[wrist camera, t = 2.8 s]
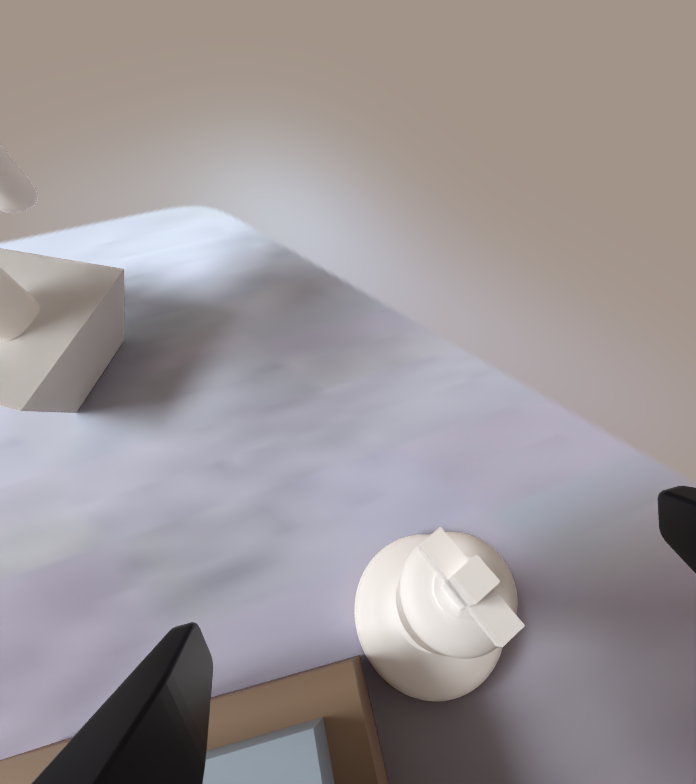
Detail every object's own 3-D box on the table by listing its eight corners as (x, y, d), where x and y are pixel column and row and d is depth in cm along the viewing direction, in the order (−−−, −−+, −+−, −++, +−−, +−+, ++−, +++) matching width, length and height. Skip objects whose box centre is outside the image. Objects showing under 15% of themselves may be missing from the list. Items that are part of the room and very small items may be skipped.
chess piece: (432, 508, 16) (476, 360, 7) (536, 628, 14) (774, 620, 5) (326, 595, 15) (230, 543, 6) (421, 741, 13) (477, 977, 4)
